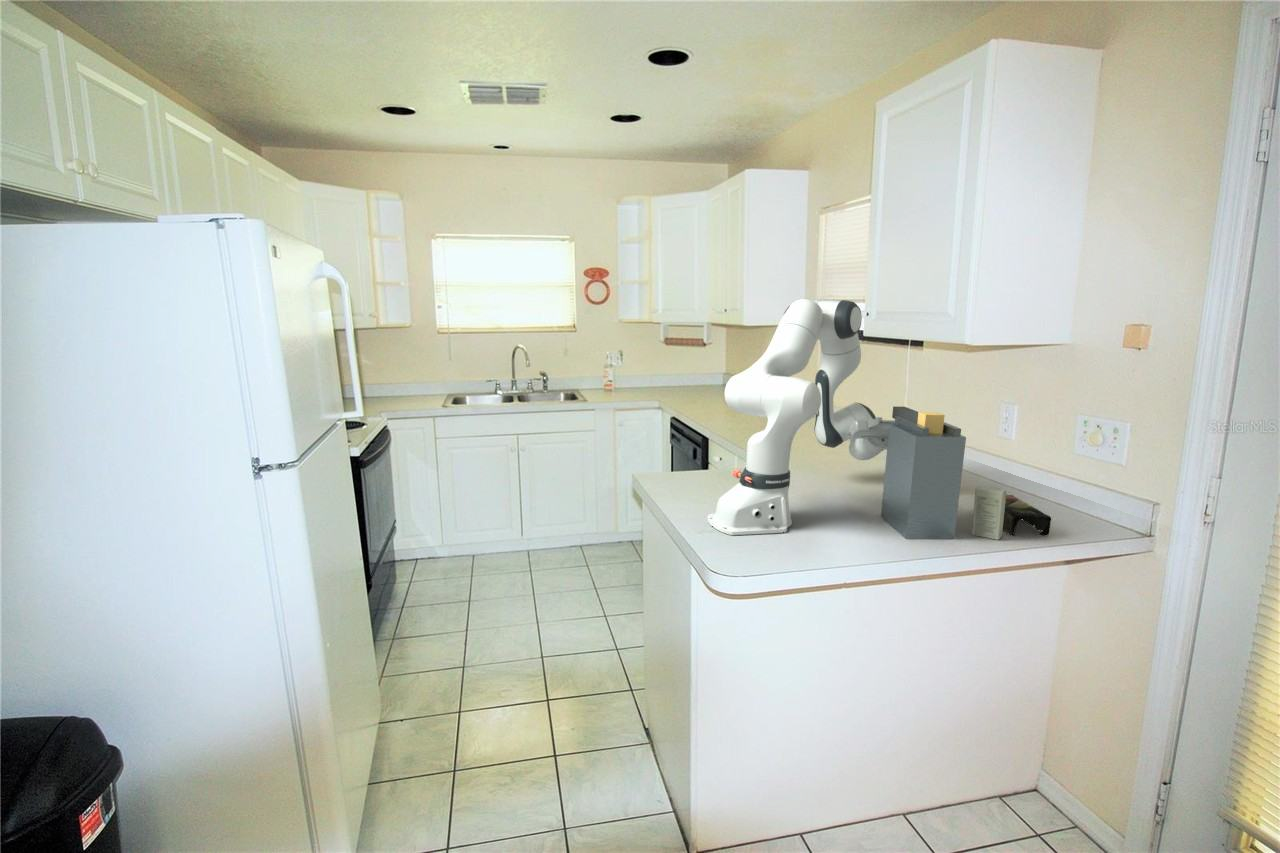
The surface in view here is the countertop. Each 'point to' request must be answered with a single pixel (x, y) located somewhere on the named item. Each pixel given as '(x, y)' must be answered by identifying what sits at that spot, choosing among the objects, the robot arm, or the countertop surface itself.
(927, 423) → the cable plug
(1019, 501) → the juice carton
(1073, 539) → the countertop surface
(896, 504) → the grey tall box
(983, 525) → the skincare box
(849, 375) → the robot arm
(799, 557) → the countertop surface
